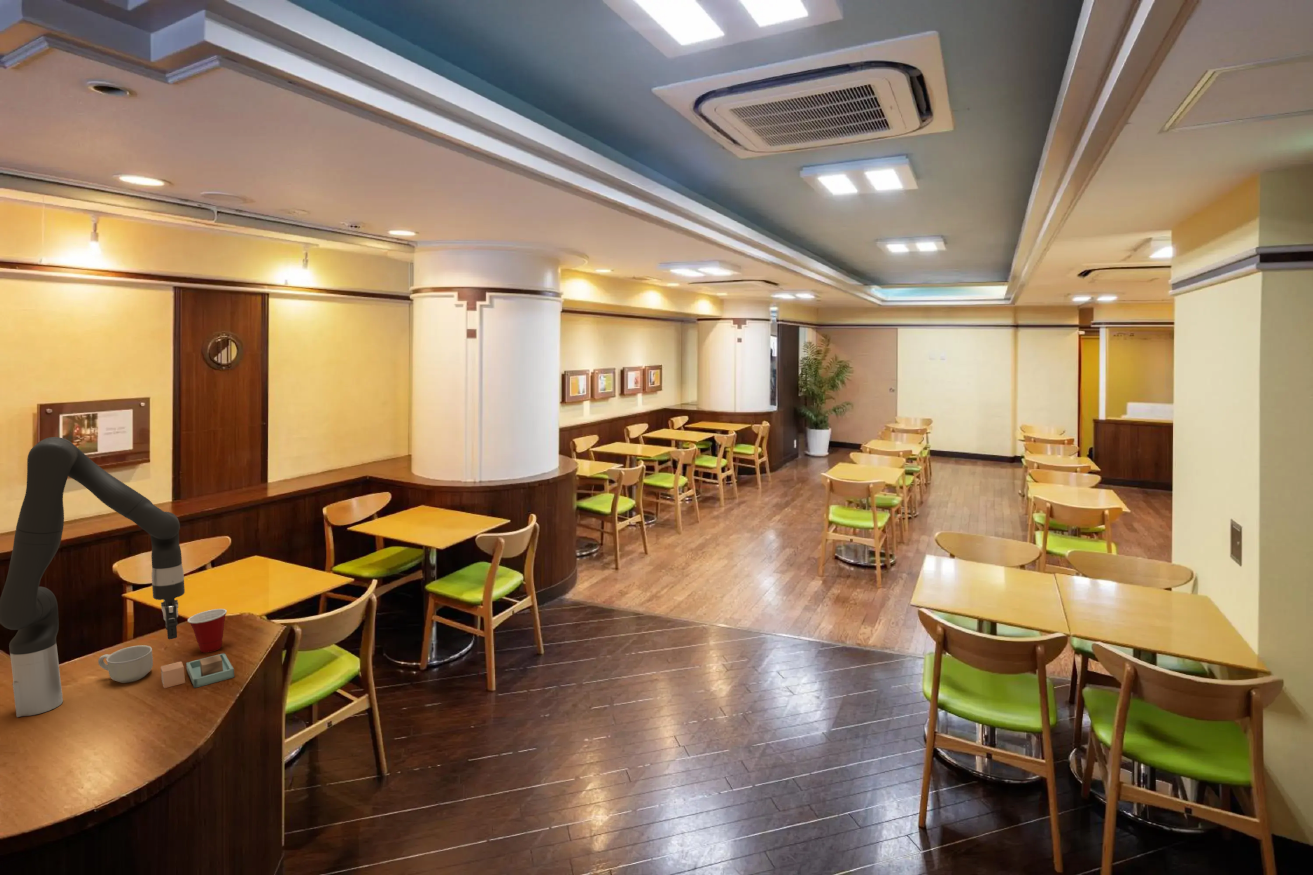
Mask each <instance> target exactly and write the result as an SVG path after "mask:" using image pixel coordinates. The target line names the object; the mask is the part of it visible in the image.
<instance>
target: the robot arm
mask: <svg viewBox="0 0 1313 875" xmlns="http://www.w3.org/2000/svg"><path fill="white" fill-rule="evenodd" d="M26 460H27V462H26V469H27V470H26V472H27V473H26V487H25V494H24V498H23V501H22V504H21V507H20V510H19V515H18V519H17V523H16V527H15V532H14V539H13V546H12V552H11V557H10V559H9V560H10V561H9V566H8V572H7V576H6V581H5V582H4V586H3V589H2V592H1V595H0V625H1V626H2V627H4V628H5V629H8V630H11V631H17V632H16V634H15V636H14V637H12V639H11V640H10V641H9V644H8V645H9V646H8V647H9V656H10V663H11V664H10V665H11V671H12V672H11V673H12V674H11V675H12V680H13V681H12V689H13V697H14V706H15V714H16V718H20V717H27V716H35V715H40V714H42V713H47V712H49V711H51V710H53V709H56V708H57V707H59V706H61V705H62V704H63V701H64V700H63V690H62V681H61V680H62V679H61V673H60V665H59V664H60V662H59V655H58V646H57V635H58V633H59V629H60V627H59V626H60V624H59V623H60V621H59V607H58V606H59V604H58V601H57V597H56V596H55V594H54V593H53V591H52V590H50V589H49V588H47V587H45V586H40V584H41V579H42V577H43V575H44V573H45V571H46V570H47V568H48V567H49V565H50V564H51V562H52V560H53V558H54V557H55V555H56V554H57V552H58V550H59V548H60V545H61V543H62V537H63V531H64V526H65V525H64V524H65V510H64V509H65V508H64V492H65V488H66V484H67V480H68V477H69V478H71V479H72V480H74V481H75V482H77V483H78V484H80V485H82V486H83V487H84V488H86V489H87V490H88V491H89V492H90V493H91V494H93V496H95V497H96V498H97V499H98V500H99V501H100V502H101V503H103V504H104V505H105V506H107V507H108V508H109V509H111V510H113V512H116V513H118V514H119V515H121V516H123V517H124V518H126V519H128V520H130V521H131V522H133V523H134V524H136V525H137V526H138V527H139V528H141V529H142V530H143V531H145V532H146V533H147V534H149V536H150V543H151V555H150V556H151V587H152V598H153V599H154V600H156V601H161V600H163V602H160V607H161V611H162V615H163V620H164V621H165V630H166V632H167V639H168V640H173V639H176V638H178V627H177V626H178V623H179V622H178V618H179V610H178V609H179V601H178V599H176V598H179V597H182V596H183V595H184V594H185V593H186V592H185V575H184V574H185V572H184V568H183V564H182V563H183V559H182V550H181V545H180V529H181V523H180V521H179V518H178V516H177V515H176V514H175V513H173V512H169V511H164V510H162V509H160V507H158V506H157V505H155V504H154V503H153V502H152V501H151V500H150V499H149V498H147V497H146V496H144V495H143V494H141V493H140V492H138V491H137V490H135V489H134V488H132V487H130V486H129V485H127V484H126V483H124V482H123V481H121V480H119V479H118V478H116V477H115V476H113V475H112V474H110V472H107V471H106V470H105V469H103V467H101V466H99V465H98V464H97V463H96V462H94V461H93V460H92V459H91V458H89V457H88V456H87V455H86V454H85V453H84V452H83V451H82V450H80V448H79V447H77V446H76V445H75V443H73V442H72V441H70V440H68V439H66V438H63V437H59V436H58V437H57V436H53V437H52V436H51V437H50V436H49V437H46V438H44V439H42V440H40V441H39V442H37V443H36V444H35V445H34V446H33V447H32V448H31V449H30V450H29V452H28V455H27V459H26Z"/></svg>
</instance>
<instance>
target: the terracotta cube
mask: <svg viewBox="0 0 1313 875" xmlns="http://www.w3.org/2000/svg"><path fill="white" fill-rule="evenodd" d="M160 674H161V683H162V686H163V689H166V688H167V689H168V688H169V687H174V686H177V685H181V684H185V683H186V680H185V678H186V677H185V668H184V665H183V661H177V662H173V663H170V664H169V663H168V664H165V665H164V664H163V665H160Z"/></svg>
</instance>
